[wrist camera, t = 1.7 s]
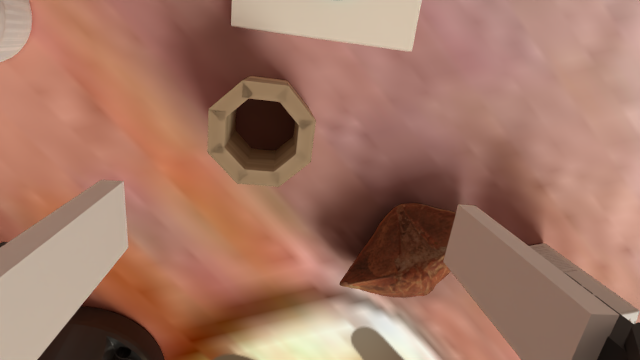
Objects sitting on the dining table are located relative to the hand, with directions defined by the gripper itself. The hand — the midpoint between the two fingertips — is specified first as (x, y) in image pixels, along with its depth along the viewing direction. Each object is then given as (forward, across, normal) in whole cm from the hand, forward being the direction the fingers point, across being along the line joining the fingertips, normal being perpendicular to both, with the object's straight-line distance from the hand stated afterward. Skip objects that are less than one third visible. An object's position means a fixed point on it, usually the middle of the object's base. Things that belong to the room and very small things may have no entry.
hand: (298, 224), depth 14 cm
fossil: (+17, +12, -9) cm, 23 cm away
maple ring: (+17, -2, +1) cm, 17 cm away
